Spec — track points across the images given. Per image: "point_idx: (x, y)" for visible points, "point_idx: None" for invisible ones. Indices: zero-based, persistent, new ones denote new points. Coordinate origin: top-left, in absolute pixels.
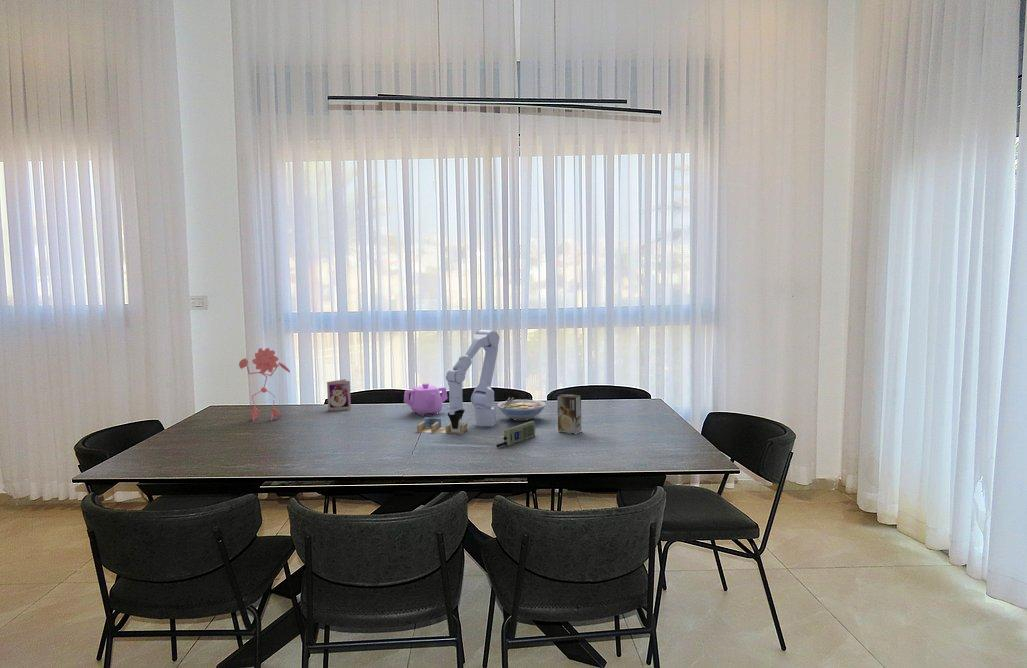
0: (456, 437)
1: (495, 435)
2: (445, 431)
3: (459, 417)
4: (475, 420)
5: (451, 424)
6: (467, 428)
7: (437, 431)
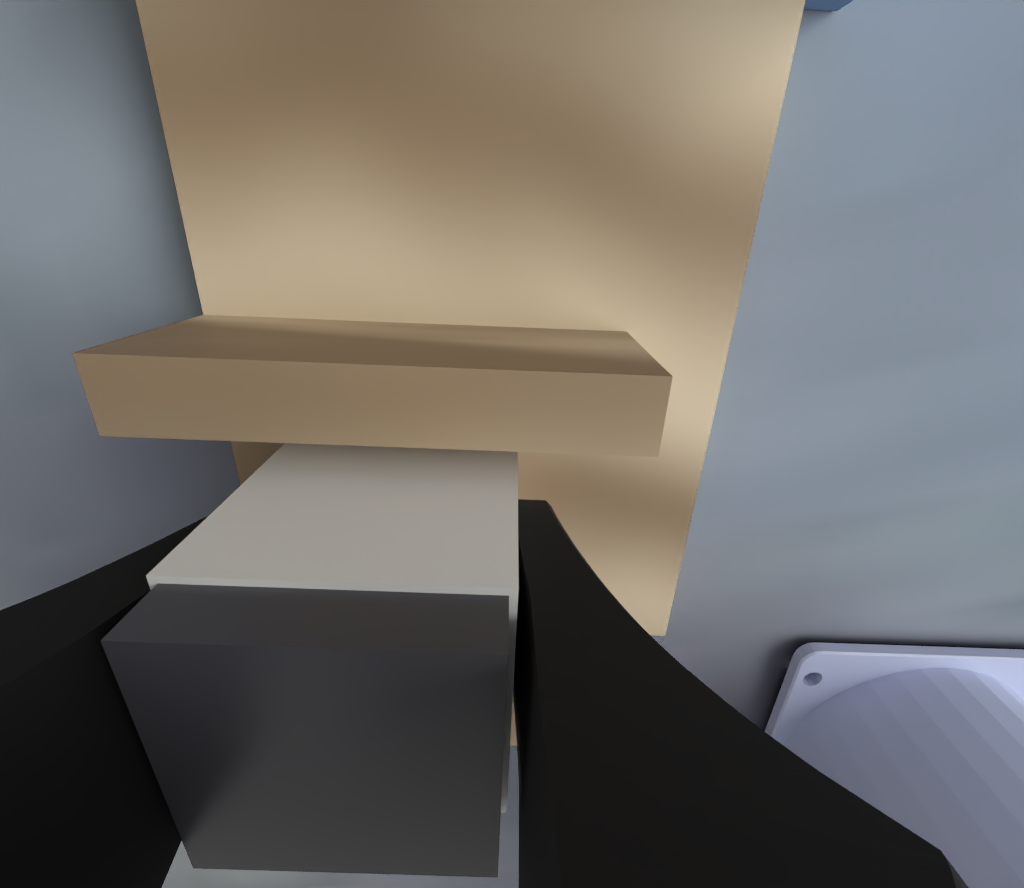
0: (164, 527)
1: (409, 876)
2: (343, 273)
3: (371, 848)
4: (939, 776)
5: (242, 510)
6: (643, 626)
7: (292, 30)
